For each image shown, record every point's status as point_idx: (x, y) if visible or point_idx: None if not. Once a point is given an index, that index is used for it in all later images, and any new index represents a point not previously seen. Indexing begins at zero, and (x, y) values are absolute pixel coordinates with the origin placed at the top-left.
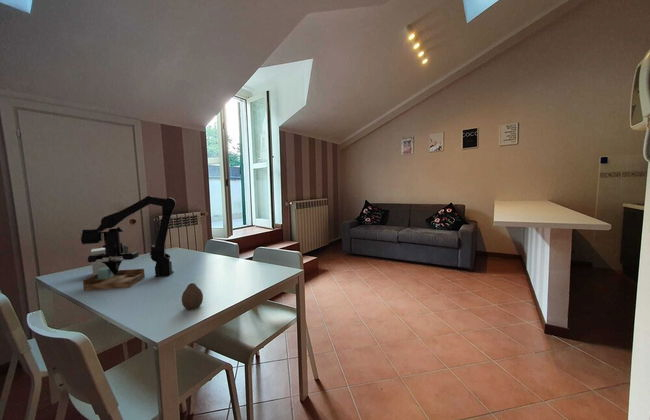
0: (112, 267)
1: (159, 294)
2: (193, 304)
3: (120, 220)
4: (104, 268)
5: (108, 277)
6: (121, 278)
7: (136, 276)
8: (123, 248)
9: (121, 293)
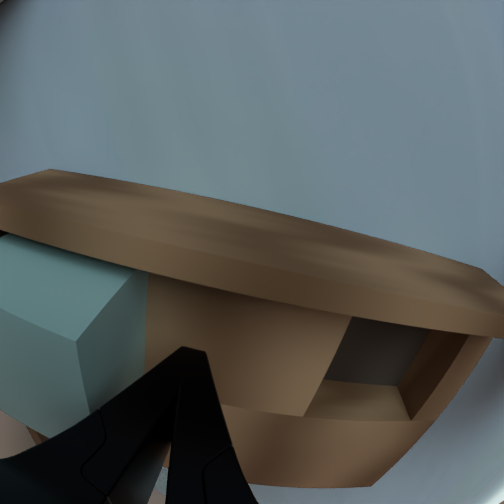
0: (148, 492)
1: (444, 496)
2: None
3: None
4: None
5: (139, 377)
6: (303, 429)
7: (433, 410)
8: None
9: (327, 496)
